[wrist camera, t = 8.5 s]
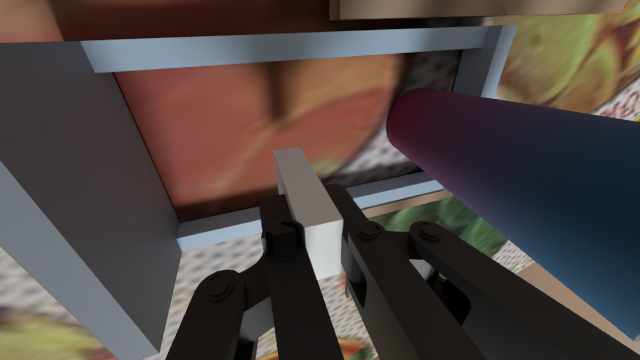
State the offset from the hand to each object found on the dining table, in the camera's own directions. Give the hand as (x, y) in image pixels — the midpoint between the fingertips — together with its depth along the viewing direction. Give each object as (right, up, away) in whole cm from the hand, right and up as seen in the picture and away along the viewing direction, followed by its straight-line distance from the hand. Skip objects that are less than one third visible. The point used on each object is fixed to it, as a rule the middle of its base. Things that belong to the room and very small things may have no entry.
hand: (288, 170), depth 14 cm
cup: (+9, +4, +5) cm, 12 cm away
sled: (+2, +3, +3) cm, 5 cm away
